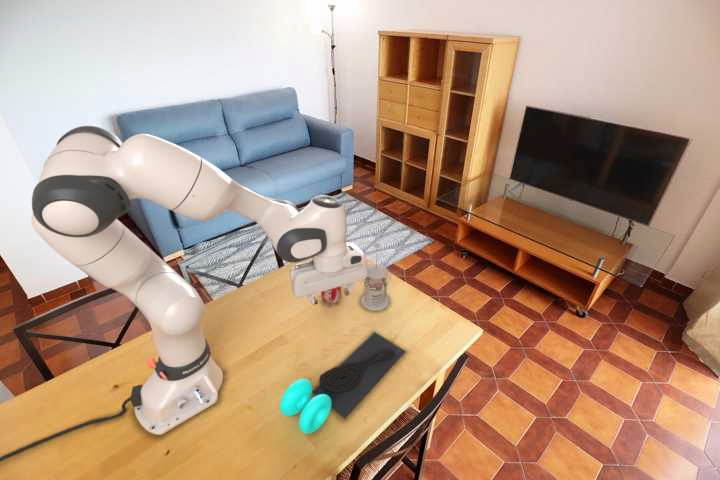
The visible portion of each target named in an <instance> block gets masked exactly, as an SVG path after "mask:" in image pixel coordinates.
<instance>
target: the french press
mask: <svg viewBox="0 0 720 480" xmlns="http://www.w3.org/2000/svg"><path fill="white" fill-rule="evenodd" d="M373 246H374V248H375V249H379V248H380V247H381V244H380V243H379V242H375V243H374V245H373ZM375 256H376V257H375V260H376V261H375V263H371V264H369V265H368V264H367V271H368V274H367V277H366V278H365V281H364V285H363V286H364V288H363V291H364V293H363V296H362V297H361V300H360V301H361V305H362V306H363V307H364V308H365V309H367V310H369V311H373V312H376V311H382V310H385V308H387V307H388V305H389V298H388V297H387V288H388V287H387V286H388V284H389V283H390V281H391V279H392V272H391V270H389V269H388V268H387V267H386V266H385V265H384V264H381V263H378V254H376V255H375ZM388 275H389V276H390V277H389V279H388ZM387 279H388V282H387Z"/></svg>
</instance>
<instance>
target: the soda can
mask: <svg viewBox="0 0 720 480" xmlns="http://www.w3.org/2000/svg"><path fill="white" fill-rule="evenodd" d="M320 294H321V299H322V301H323V302H324V303H326V304H335V303H338V302H339V301H340V300H341V297H342V286H340V287H336V288H333V289H329V290H326V291H322V292H320Z"/></svg>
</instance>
